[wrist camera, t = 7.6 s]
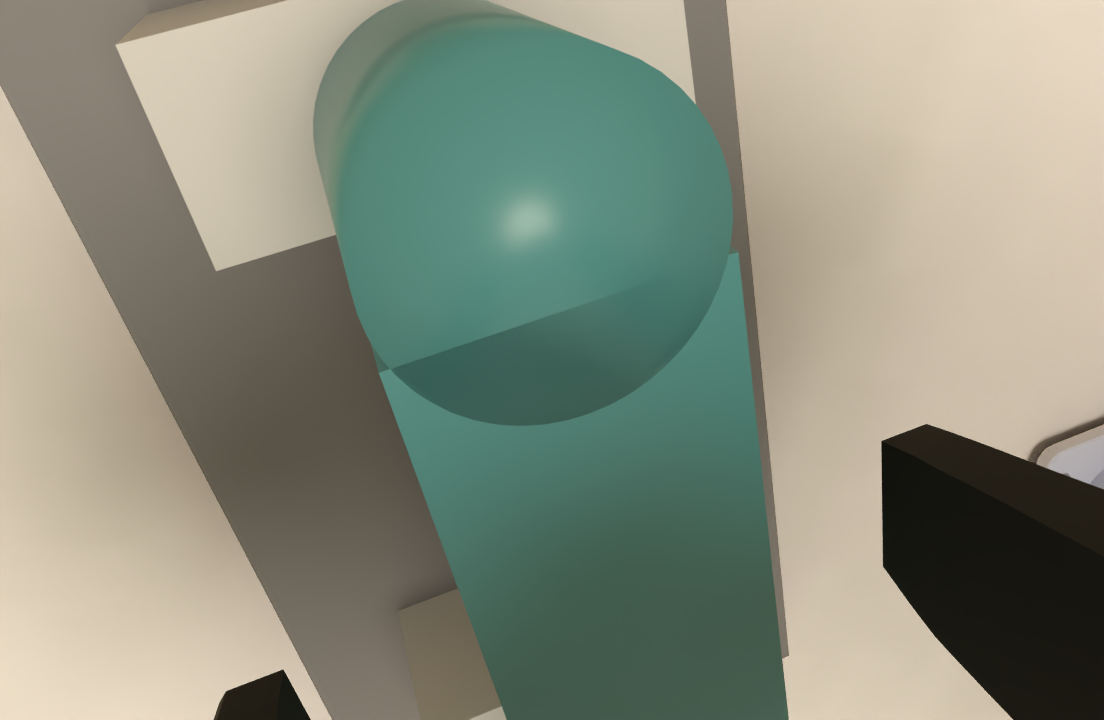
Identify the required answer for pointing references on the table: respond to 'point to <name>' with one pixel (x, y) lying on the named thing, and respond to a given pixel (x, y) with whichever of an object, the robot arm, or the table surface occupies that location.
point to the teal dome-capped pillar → (561, 355)
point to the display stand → (295, 299)
